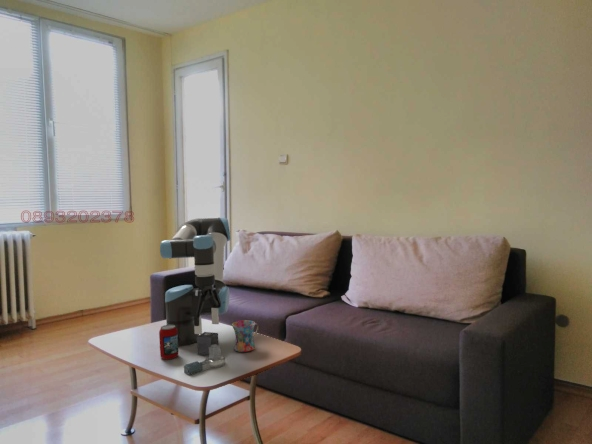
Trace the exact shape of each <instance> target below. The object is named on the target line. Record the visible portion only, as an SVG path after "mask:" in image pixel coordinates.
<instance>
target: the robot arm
mask: <svg viewBox="0 0 592 444" xmlns="http://www.w3.org/2000/svg"><path fill="white" fill-rule="evenodd" d="M230 241H231V231H230V225H229V220H228V218H227V217H216V218H215V217H211V218H209V217H208V218H207V217H206V218H205V217H204V218H194V219H190V220H188V221H187V220H186V222H184V223H182V224H181V225H179V227H178V228H177V230H176V232H175V235H173V237H172V238H171V239H165V240H161V241H160V244H159V253H160V257H161V258H162V259H169V260H171V259H183V258H184V259H189V258H193V260H194V267H193V268H194V275H195V277H194V283H195V286H196V287H197V288H194V286H193V284H184V285H178V286H175V287H172V288H169V289H168V290H166V291H165V295H164V297H165V299H164V303H165V317H166V318H165V320H166V324H165V325H175V327H176V329H177V334H178V347H181V346H188V345H192V344H194V343H197V336H199V335H201V334H202V333H203V328H202V327H203V326H202V325H203V324H202V316H211V324H212V325H220V320H219V319H220V318H219V317H220V316H219V315H224V314H226V313H227V311H228V308H229V303H230V288H229V287H228V286H227V284H226V283H225V282H224V260H225V259H224V258H225V257H224V256H225V247H226V245H227V244H228V242H230Z"/></svg>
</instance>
